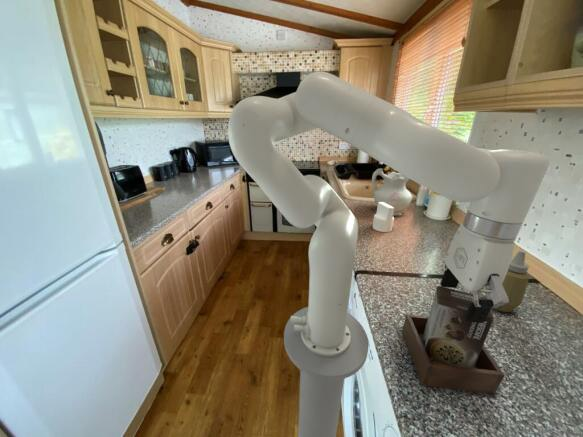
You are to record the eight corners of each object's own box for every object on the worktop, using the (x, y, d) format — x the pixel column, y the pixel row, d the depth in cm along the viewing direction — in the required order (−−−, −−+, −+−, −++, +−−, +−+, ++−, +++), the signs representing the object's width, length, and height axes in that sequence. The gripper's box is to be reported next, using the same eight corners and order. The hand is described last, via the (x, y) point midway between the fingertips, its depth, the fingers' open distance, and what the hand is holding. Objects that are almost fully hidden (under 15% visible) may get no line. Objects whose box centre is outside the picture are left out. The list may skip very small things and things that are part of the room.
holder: (422, 385, 49) (428, 366, 47) (402, 331, 61) (406, 314, 59) (494, 394, 47) (504, 375, 45) (459, 336, 60) (465, 319, 58)
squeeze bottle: (524, 317, 66) (552, 261, 59) (491, 313, 67) (515, 257, 60) (505, 297, 73) (529, 245, 66) (476, 294, 74) (496, 242, 67)
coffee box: (465, 353, 55) (488, 297, 49) (469, 379, 50) (496, 319, 43) (421, 338, 59) (437, 284, 52) (420, 360, 53) (438, 302, 47)
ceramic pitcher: (375, 220, 130) (384, 175, 118) (362, 205, 147) (369, 164, 136) (413, 219, 132) (426, 175, 120) (396, 204, 149) (406, 164, 137)
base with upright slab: (395, 231, 115) (400, 207, 111) (379, 232, 113) (383, 208, 109) (384, 223, 123) (388, 201, 119) (368, 225, 121) (372, 202, 117)
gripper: (444, 205, 50) (423, 274, 57) (500, 248, 34) (462, 336, 41) (483, 208, 49) (457, 277, 56) (559, 252, 33) (510, 341, 40)
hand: (459, 302), depth 48 cm, fingers open, 9 cm apart
